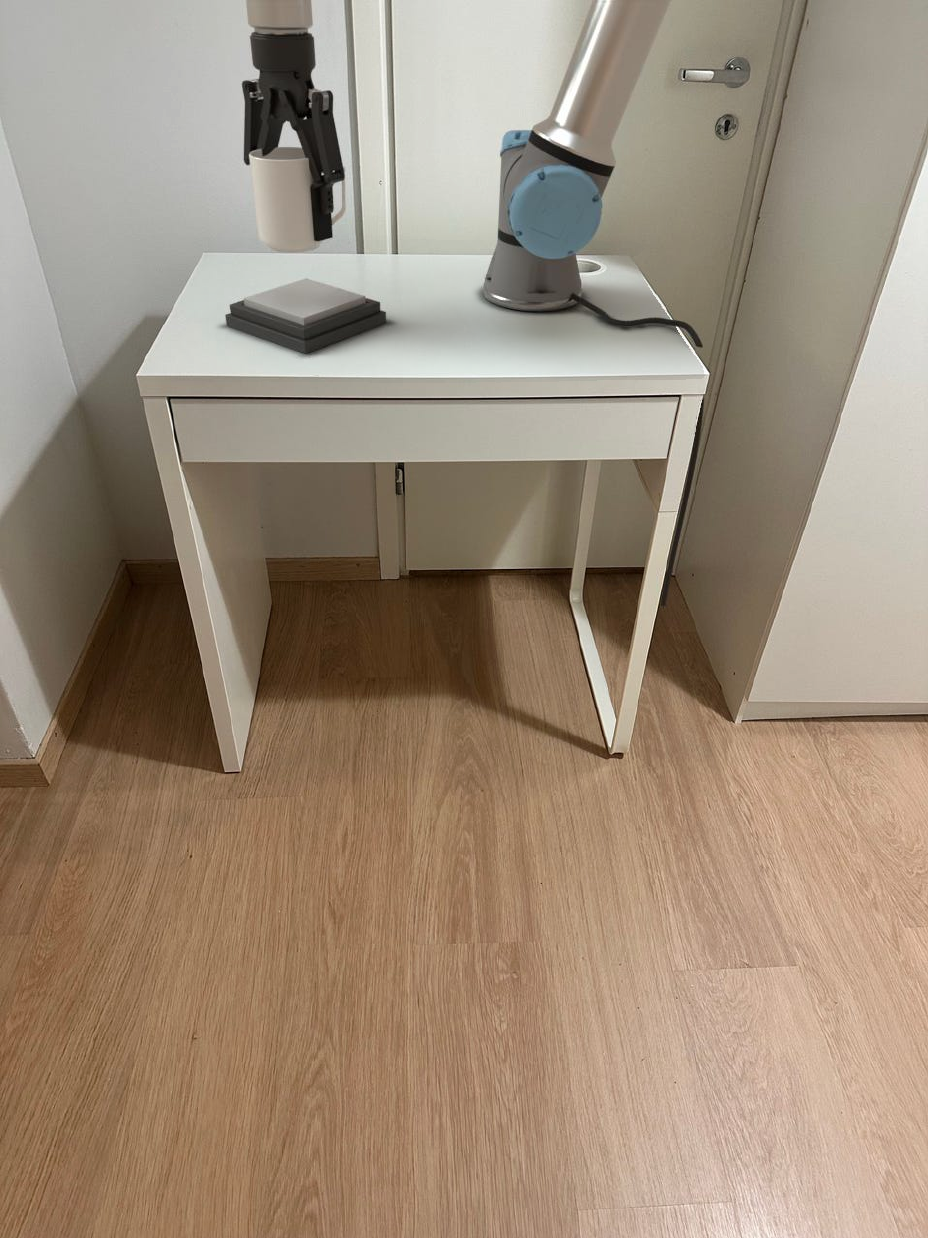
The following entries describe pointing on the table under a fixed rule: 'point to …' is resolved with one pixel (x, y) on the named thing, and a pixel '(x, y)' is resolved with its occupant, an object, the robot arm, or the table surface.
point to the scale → (306, 326)
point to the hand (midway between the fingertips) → (298, 231)
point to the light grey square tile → (304, 301)
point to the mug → (285, 199)
